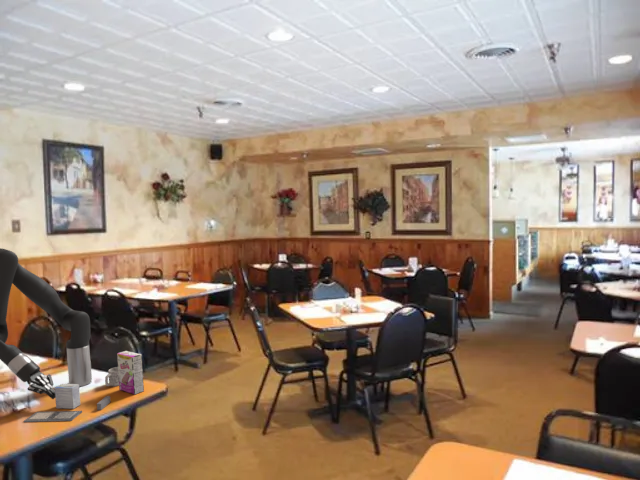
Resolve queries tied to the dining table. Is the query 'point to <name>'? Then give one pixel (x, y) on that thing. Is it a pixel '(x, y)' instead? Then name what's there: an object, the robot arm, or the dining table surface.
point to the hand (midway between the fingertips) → (55, 396)
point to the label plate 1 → (40, 416)
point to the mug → (112, 377)
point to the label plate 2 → (65, 416)
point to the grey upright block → (67, 396)
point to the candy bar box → (130, 372)
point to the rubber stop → (103, 403)
